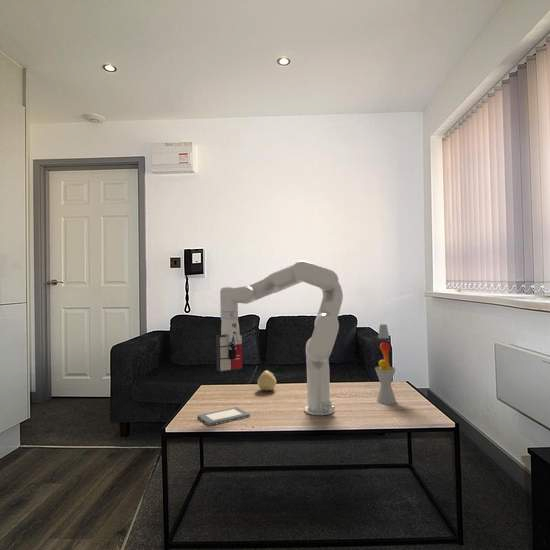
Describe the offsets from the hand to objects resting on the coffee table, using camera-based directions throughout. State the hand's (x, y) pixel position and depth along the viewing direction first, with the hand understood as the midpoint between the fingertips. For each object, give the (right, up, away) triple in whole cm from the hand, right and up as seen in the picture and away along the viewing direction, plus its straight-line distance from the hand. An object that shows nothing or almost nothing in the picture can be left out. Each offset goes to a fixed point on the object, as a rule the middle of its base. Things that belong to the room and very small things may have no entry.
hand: (230, 357), depth 159 cm
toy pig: (+15, -25, +33) cm, 44 cm away
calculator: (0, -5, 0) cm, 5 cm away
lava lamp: (+70, -22, +9) cm, 74 cm away
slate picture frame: (-2, -23, -6) cm, 24 cm away
